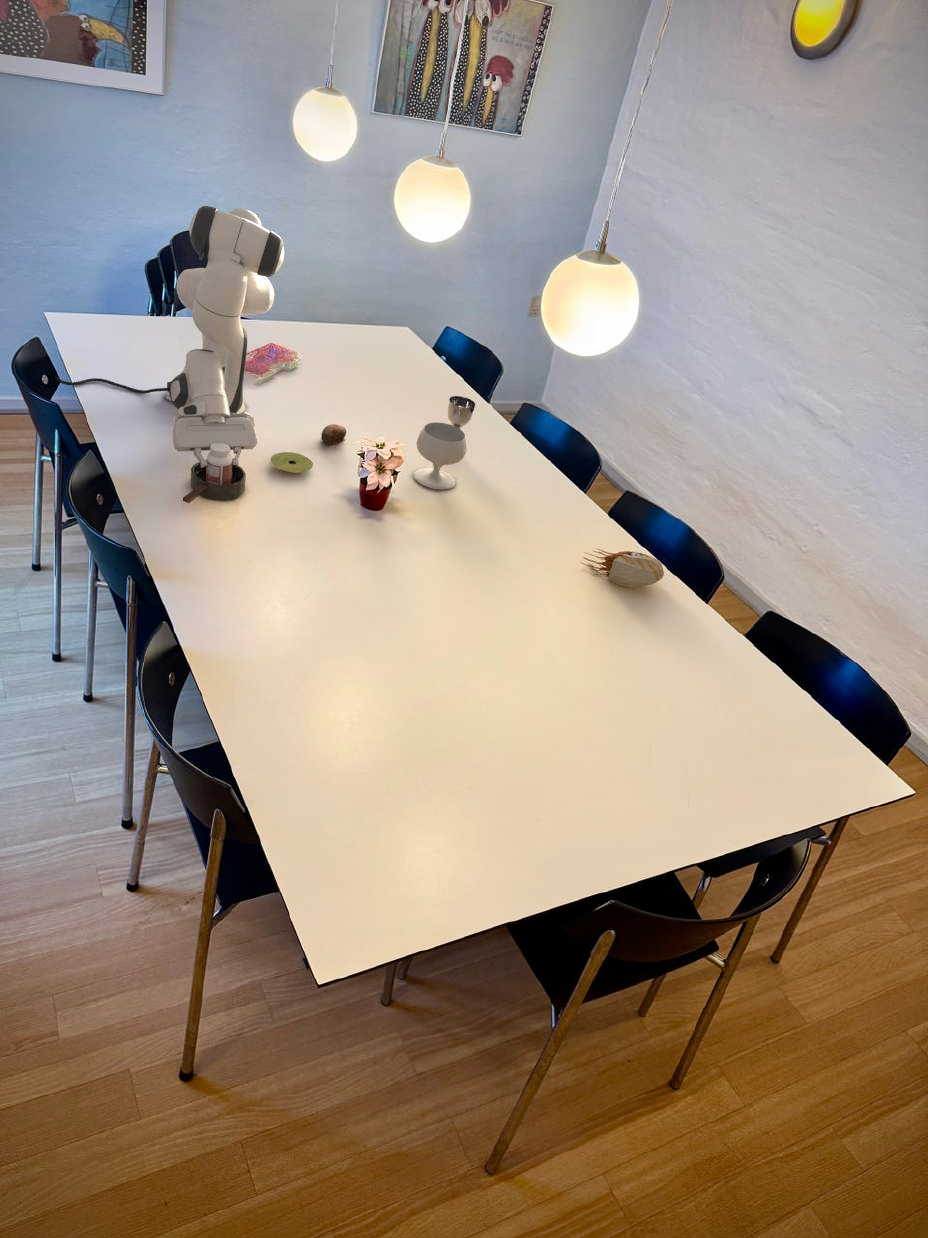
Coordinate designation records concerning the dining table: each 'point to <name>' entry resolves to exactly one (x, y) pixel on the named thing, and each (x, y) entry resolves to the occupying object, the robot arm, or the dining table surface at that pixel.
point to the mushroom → (333, 434)
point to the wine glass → (460, 410)
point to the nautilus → (630, 568)
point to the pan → (217, 490)
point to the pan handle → (195, 493)
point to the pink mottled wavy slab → (279, 352)
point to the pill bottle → (219, 464)
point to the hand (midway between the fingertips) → (219, 466)
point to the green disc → (291, 462)
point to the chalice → (439, 453)
